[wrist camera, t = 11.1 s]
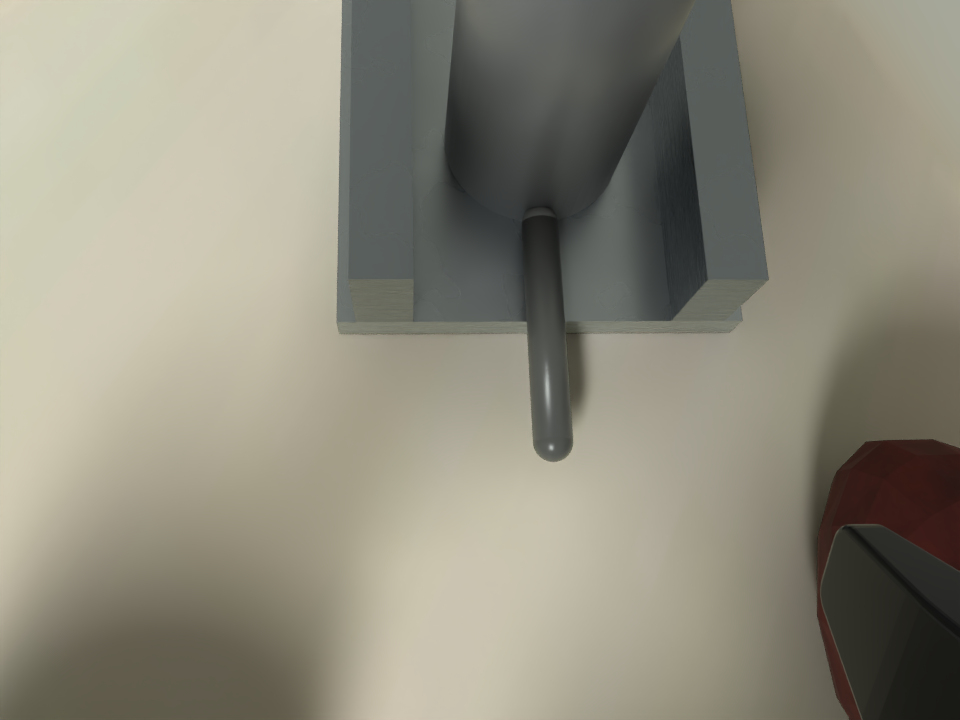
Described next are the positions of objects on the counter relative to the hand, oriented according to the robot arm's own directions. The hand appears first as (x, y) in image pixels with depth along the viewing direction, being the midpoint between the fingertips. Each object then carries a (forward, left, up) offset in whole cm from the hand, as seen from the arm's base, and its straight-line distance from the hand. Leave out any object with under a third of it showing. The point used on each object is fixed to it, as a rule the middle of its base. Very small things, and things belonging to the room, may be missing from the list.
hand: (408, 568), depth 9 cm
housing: (+11, -8, -14) cm, 19 cm away
